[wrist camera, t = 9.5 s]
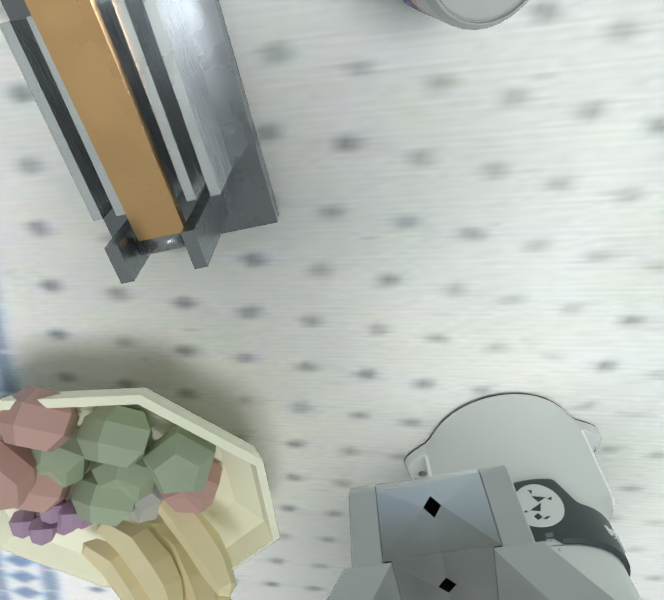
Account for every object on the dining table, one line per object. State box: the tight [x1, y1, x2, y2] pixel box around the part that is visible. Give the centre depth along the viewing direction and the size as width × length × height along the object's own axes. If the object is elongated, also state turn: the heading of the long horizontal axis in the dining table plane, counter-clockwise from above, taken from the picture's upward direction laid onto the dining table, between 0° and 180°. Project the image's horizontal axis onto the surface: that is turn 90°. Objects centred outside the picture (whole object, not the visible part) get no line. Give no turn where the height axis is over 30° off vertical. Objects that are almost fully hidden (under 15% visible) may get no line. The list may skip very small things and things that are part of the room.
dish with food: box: [0, 387, 280, 600], centre depth 46 cm, size 28×28×14 cm
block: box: [24, 0, 186, 256], centre depth 29 cm, size 17×3×2 cm, turn 12°
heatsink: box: [0, 0, 279, 284], centre depth 31 cm, size 21×12×9 cm, turn 12°
